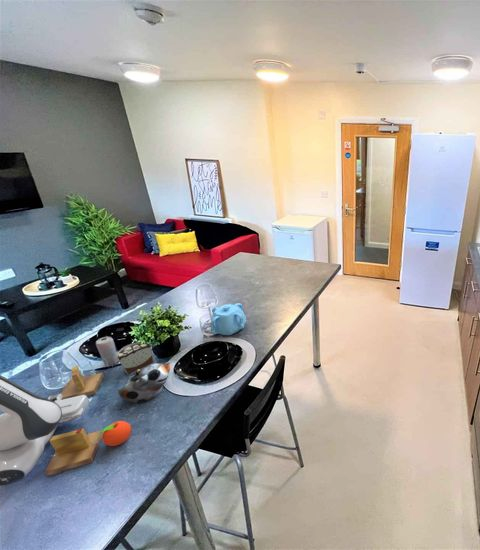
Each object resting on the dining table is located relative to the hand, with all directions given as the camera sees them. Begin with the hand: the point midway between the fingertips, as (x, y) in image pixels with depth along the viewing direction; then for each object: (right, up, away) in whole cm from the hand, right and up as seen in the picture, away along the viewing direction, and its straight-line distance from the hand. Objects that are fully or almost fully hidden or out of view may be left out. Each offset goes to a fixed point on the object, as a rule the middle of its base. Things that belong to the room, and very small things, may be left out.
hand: (56, 396), depth 99 cm
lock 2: (-1, 0, +10) cm, 10 cm away
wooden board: (+19, -13, -12) cm, 25 cm away
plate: (-1, -2, +11) cm, 11 cm away
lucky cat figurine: (+24, -3, +12) cm, 26 cm away
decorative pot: (+36, +14, +50) cm, 63 cm away
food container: (+10, +3, +23) cm, 25 cm away
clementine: (+28, -12, -7) cm, 31 cm away
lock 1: (+19, -11, -12) cm, 25 cm away
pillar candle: (-1, +4, +24) cm, 24 cm away
